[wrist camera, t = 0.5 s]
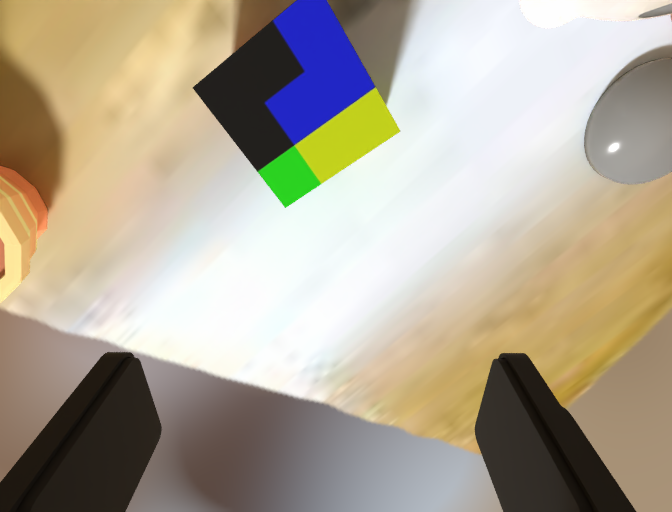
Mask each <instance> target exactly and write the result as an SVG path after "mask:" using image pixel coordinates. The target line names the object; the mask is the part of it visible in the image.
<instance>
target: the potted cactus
mask: <svg viewBox="0 0 672 512" xmlns="http://www.w3.org/2000/svg"><path fill="white" fill-rule="evenodd" d="M46 229H47V208H46V206H45V204H44V202H43V200H42V199H41V197H40V195H39V193H38V191H37V189H36V188H35V187H34V186H33V185H31V184H30V183H29V182H28V181H27V180H25V179H24V178H23V177H22V176H21V175H19V174H18V173H17V172H16V171H15V170H12V169H9V168H6V167H3V166H0V303H1V302H2V301H3V300H4V299H5V298H6V297H7V296H8V295H9V294H10V293H11V292H12V291H13V290H14V289H15V288H16V287H17V286H18V285H19V284H20V283H21V282H22V281H23V280H24V279H25V277H26V276H27V275H28V274H29V273H30V259H31V257H32V256H33V254H34V252H35V251H36V249H37V239H38V237H39V236H40V235H41V234H42V233H43V232H44V231H45V230H46Z"/></svg>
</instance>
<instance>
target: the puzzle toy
mask: <svg viewBox="0 0 672 512" xmlns="http://www.w3.org/2000/svg"><path fill="white" fill-rule="evenodd" d="M193 89H194V90H195V92H196V93H197V94H198V95H199V97H200V98H201V99H202V101H203V102H204V103H205V104H206V106H207V107H208V108H209V110H210V111H211V112H212V114H213V115H214V116H215V117H216V119H217V120H218V121H219V123H220V124H221V125H222V126H223V128H224V129H225V130H226V132H227V133H228V134H229V135H230V137H231V138H232V139H233V141H234V142H235V143H236V145H237V146H238V147H239V148H240V150H241V151H242V152H243V154H244V155H245V156H246V157H247V159H248V160H249V161H250V163H251V164H252V165H253V166H254V168H255V169H256V170H257V172H258V173H259V174H260V176H261V177H262V178H263V179H264V181H265V182H266V183H267V185H268V186H269V187H270V188H271V190H272V191H273V192H274V194H275V195H276V196H277V198H278V199H279V200H280V201H281V203H282V204H283V205H284V207H285V208H286V207H287V206H289V205H290V204H292V203H293V202H295V201H296V200H298V199H299V198H301V197H302V196H304V195H305V194H307V193H308V192H310V191H311V190H313V189H314V188H316V187H317V186H319V185H320V184H322V183H323V182H325V181H326V180H328V179H329V178H331V177H332V176H334V175H335V174H337V173H338V172H340V171H341V170H343V169H344V168H346V167H347V166H349V165H350V164H352V163H354V162H355V161H357V160H358V159H360V158H361V157H363V156H364V155H366V154H367V153H369V152H370V151H372V150H373V149H375V148H376V147H378V146H379V145H381V144H382V143H384V142H385V141H387V140H388V139H390V138H391V137H393V136H394V135H396V134H397V133H399V132H400V130H399V128H398V126H397V124H396V122H395V121H394V119H393V117H392V115H391V114H390V112H389V110H388V108H387V106H386V105H385V103H384V101H383V99H382V98H381V96H380V94H379V92H378V90H377V89H376V87H375V85H374V83H373V82H372V80H371V78H370V76H369V75H368V73H367V71H366V69H365V67H364V66H363V64H362V62H361V60H360V59H359V57H358V55H357V53H356V51H355V50H354V48H353V46H352V44H351V43H350V41H349V39H348V37H347V35H346V34H345V32H344V30H343V28H342V27H341V25H340V23H339V21H338V19H337V18H336V16H335V14H334V12H333V11H332V9H331V7H330V5H329V4H328V2H327V0H296V1H295V2H294V3H293V4H292V5H290V6H289V7H288V8H287V9H286V10H284V11H283V12H282V13H281V14H280V15H279V16H277V17H276V18H275V19H274V20H273V21H271V22H270V23H269V24H268V25H267V26H265V27H264V28H263V29H262V30H261V31H259V32H258V33H257V34H256V35H255V36H254V37H252V38H251V39H250V40H249V41H248V42H246V43H245V44H244V45H243V46H242V47H240V48H239V49H238V50H237V51H236V52H234V53H233V54H232V55H231V56H230V57H229V58H227V59H226V60H225V61H224V62H223V63H221V64H220V65H219V66H218V67H217V68H215V69H214V70H213V71H212V72H211V73H209V74H208V75H207V76H206V77H205V78H204V79H202V80H201V81H200V82H199V83H198V84H196V85H195V86H194V87H193Z"/></svg>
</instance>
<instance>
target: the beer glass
mask: <svg viewBox="0 0 672 512" xmlns="http://www.w3.org/2000/svg"><path fill="white" fill-rule="evenodd" d="M519 5H520V8H521V11H522V13H523V15H524V17H525V18H526V19H527V20H528V21H529V22H530V23H531V24H533V25H535V26H537V27H540V28H555V27H559V26H561V25H564V24H566V23H568V22H570V21H572V20H573V19H575V18H577V17H584V18H590V19H597V20H604V21H634V20H643V19H650V18H655V17H660V16H665V15H670V14H672V0H519Z"/></svg>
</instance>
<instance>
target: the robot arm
mask: <svg viewBox="0 0 672 512" xmlns="http://www.w3.org/2000/svg"><path fill="white" fill-rule="evenodd" d="M160 435H161V423H160V420H159V417H158V414H157V411H156V408H155V405H154V402H153V399H152V396H151V393H150V389H149V386H148V384H147V381H146V378H145V374H144V371H143V368H142V365H141V362H140V360H139V359H138V358H135V357H134V355H133V354H132V353H130V352H107V353H105V354H104V355H103V356H102V357H101V358H100V359H99V361H98V362H97V363H96V364H95V365H94V367H93V368H92V369H91V370H90V372H89V373H88V374H87V375H86V377H85V378H84V379H83V380H82V382H81V383H80V384H79V385H78V387H77V388H76V389H75V390H74V392H73V393H72V394H71V395H70V397H69V398H68V399H67V400H66V402H65V403H64V404H63V405H62V406H61V408H60V409H59V410H58V411H57V413H56V414H55V415H54V416H53V418H52V419H51V420H50V421H49V423H48V424H47V425H46V426H45V428H44V429H43V430H42V431H41V433H40V434H39V435H38V436H37V438H36V439H35V440H34V441H33V443H32V444H31V445H30V446H29V448H28V449H27V450H26V451H25V453H24V454H23V455H22V456H21V458H20V459H19V460H18V461H17V462H16V464H15V465H14V466H13V467H12V469H11V470H10V471H9V472H8V474H7V475H6V476H5V477H4V479H3V480H2V481H1V482H0V512H125V511H126V509H127V507H128V505H129V502H130V500H131V498H132V496H133V494H134V492H135V490H136V488H137V486H138V483H139V481H140V479H141V477H142V475H143V473H144V471H145V469H146V467H147V465H148V462H149V460H150V458H151V456H152V454H153V452H154V450H155V448H156V445H157V443H158V441H159V439H160ZM475 436H476V440H477V443H478V445H479V448H480V451H481V453H482V456H483V459H484V461H485V464H486V467H487V469H488V472H489V475H490V477H491V480H492V483H493V485H494V488H495V491H496V493H497V496H498V498H499V501H500V504H501V507H502V509H503V512H636V511H635V509H634V508H633V506H632V505H631V503H630V502H629V500H628V499H627V498H626V496H625V494H624V493H623V491H622V490H621V488H620V487H619V485H618V484H617V482H616V481H615V479H614V478H613V476H612V475H611V473H610V472H609V470H608V469H607V467H606V466H605V464H604V463H603V462H602V460H601V458H600V457H599V455H598V454H597V452H596V451H595V450H594V448H593V447H592V445H591V444H590V442H589V441H588V439H587V438H586V436H585V435H584V433H583V432H582V430H581V429H580V427H579V426H578V424H577V423H576V421H575V420H574V418H573V417H572V416H571V414H570V413H569V412H568V411H567V410H566V409H565V408H563V407H562V406H561V405H560V404H559V402H558V401H557V399H556V398H555V396H554V395H553V393H552V392H551V390H550V389H549V387H548V386H547V384H546V383H545V381H544V379H543V378H542V376H541V375H540V373H539V372H538V370H537V369H536V367H535V366H534V364H533V363H532V361H531V360H530V358H529V357H528V356H527V355H526V354H524V353H502V354H500V356H499V358H498V359H494V360H493V362H492V365H491V369H490V373H489V376H488V380H487V384H486V387H485V391H484V395H483V398H482V402H481V406H480V409H479V413H478V417H477V420H476V424H475Z"/></svg>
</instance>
